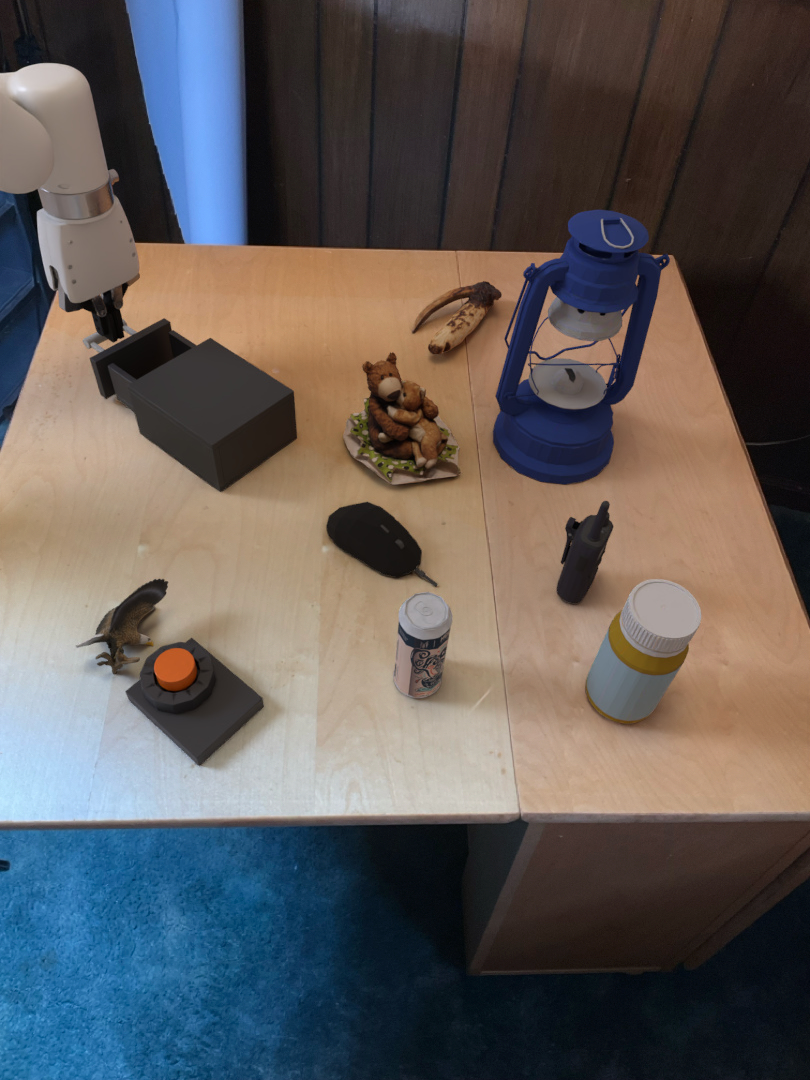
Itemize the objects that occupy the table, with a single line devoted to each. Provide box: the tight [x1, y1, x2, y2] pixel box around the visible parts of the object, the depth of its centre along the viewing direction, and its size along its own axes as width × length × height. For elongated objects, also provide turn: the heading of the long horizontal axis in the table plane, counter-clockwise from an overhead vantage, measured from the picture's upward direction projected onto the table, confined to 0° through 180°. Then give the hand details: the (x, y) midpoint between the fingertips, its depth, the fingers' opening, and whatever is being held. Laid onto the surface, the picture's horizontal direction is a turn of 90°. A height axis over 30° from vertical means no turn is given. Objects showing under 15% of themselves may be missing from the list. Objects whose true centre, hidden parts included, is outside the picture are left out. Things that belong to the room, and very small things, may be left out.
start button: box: [154, 648, 197, 691], centre depth 74 cm, size 4×4×2 cm
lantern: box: [492, 209, 671, 485], centre depth 91 cm, size 17×15×30 cm
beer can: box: [392, 591, 454, 699], centre depth 75 cm, size 5×5×12 cm
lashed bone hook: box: [411, 280, 502, 356], centre depth 115 cm, size 9×5×18 cm
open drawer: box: [82, 317, 198, 412], centre depth 101 cm, size 19×11×6 cm, turn 50°
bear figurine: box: [342, 351, 462, 485], centre depth 95 cm, size 14×15×12 cm
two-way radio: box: [556, 500, 614, 605], centre depth 82 cm, size 6×4×15 cm
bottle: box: [585, 578, 702, 725], centre depth 74 cm, size 7×7×15 cm
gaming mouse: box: [326, 501, 439, 588], centre depth 88 cm, size 6×15×4 cm, turn 51°
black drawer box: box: [127, 337, 298, 493], centre depth 97 cm, size 15×13×8 cm
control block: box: [125, 637, 265, 767], centre depth 75 cm, size 10×8×4 cm
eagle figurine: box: [75, 578, 169, 675], centre depth 78 cm, size 8×7×9 cm
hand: (111, 335), depth 102 cm, fingers closed
